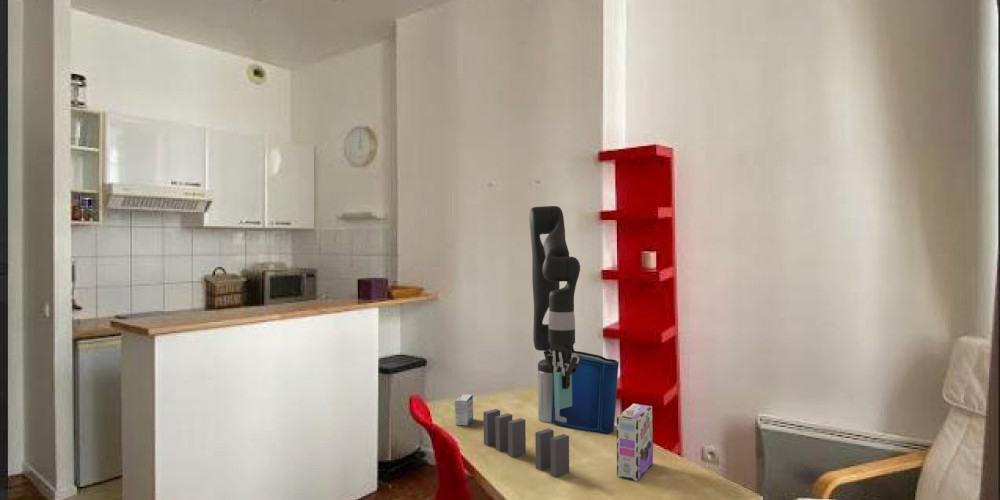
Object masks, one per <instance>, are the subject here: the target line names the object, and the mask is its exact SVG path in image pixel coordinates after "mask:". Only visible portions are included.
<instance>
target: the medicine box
mask: <svg viewBox="0 0 1000 500" xmlns="http://www.w3.org/2000/svg"><path fill="white" fill-rule="evenodd" d="M454 415H455V418H454V420H455V425H456V426H461V425H463V426H469V425H470V423H471V422H472V421H473V419H474V396H473V394H461V395H460V396H458V397H457V398H456V400H455V401H454Z"/></svg>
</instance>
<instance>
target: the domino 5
mask: <svg viewBox="0 0 1000 500" xmlns="http://www.w3.org/2000/svg"><path fill="white" fill-rule="evenodd" d="M566 371H567V370H566ZM562 376H563V375H562V371H560V372H556V373H554V397H555V408H557V409H563V408H567V407H570V406H572V375H570V387H569V388H568V389H562Z"/></svg>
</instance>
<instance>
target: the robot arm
mask: <svg viewBox="0 0 1000 500" xmlns="http://www.w3.org/2000/svg"><path fill="white" fill-rule="evenodd" d="M528 220H529V231H530V243H531V256H532V259H531V261H532V262H531V263H532V264H531V267H532V268H531V269H532V270H531V272H532V273H531V274H532V275H531V279H532V281H531V282H532V295H533V298H532V299H533V335H532V336H533V337H532V338H533V339H532V340H533V347H534V349H535V350H536V351H539V352H541V351H542V352H543V354H544V359H541V360H540V361H539V362H538V363H537V409H538V411H537V415H538V421H540V422H543V423H549V424H550V423H551V424H552V422H551V418H552V402H553V386H554V373H556V372H560V371H562V375H563V376H562V389H568V388H569V387H570V375H572V374H575V373H576V371H577V368H578V366H579V364H580V361H581V356H577V355H576V354H575V353H574V351H575V349H574V345H575V343H576V316H575V293H576V287H577V284H578V283H577V282H578V280H579V277H580V272H581V265H580V261H579V260H578V259H577V258H576V257H575V256H570V251H569V248H568V245H567V241H566V228H565V219H564V214H563V210H562V208H561V207H560V206H556V205H546V206H532V207H531V209H530V211H529V219H528ZM541 235H547V236H546V238H545V239H544V242H542V239H541ZM560 282H566V284H565V285H564V286H563V287H561V288H560ZM547 312H548V319H547V322H548V323H547V324H543V322H544V318H545V316H546V314H547ZM565 363H567V364H565ZM558 366H559V368H558ZM566 367H567V371H566Z"/></svg>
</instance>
